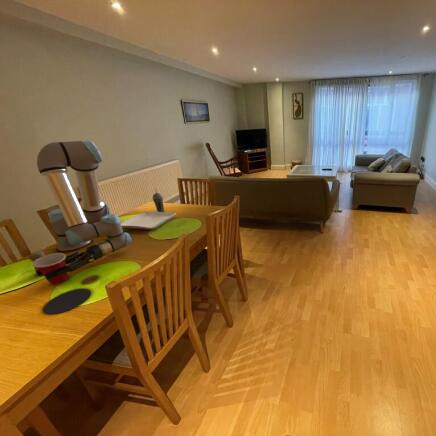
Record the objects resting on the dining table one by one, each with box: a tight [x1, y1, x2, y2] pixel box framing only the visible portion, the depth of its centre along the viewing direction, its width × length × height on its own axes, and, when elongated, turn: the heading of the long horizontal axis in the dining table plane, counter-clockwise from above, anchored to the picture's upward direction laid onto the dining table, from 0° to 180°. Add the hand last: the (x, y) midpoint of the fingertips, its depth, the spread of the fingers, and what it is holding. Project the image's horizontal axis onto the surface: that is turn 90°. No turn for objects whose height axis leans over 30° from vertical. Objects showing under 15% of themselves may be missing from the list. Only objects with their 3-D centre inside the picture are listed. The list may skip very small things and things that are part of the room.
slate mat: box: [42, 288, 92, 315], centre depth 99 cm, size 15×15×1 cm
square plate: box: [121, 211, 177, 230], centre depth 172 cm, size 27×27×4 cm
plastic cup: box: [32, 252, 68, 285], centre depth 109 cm, size 11×11×12 cm
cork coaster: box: [81, 275, 99, 285], centre depth 112 cm, size 6×6×1 cm
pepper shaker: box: [28, 251, 46, 277], centre depth 116 cm, size 6×6×11 cm
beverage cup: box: [152, 187, 165, 212], centre depth 190 cm, size 7×7×20 cm
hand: (41, 275), depth 104 cm, fingers closed on plastic cup, 6 cm apart
